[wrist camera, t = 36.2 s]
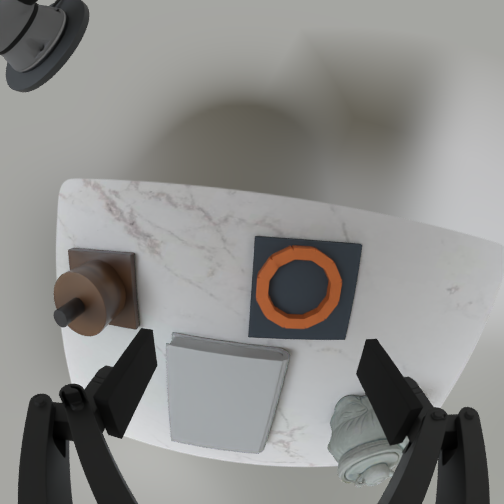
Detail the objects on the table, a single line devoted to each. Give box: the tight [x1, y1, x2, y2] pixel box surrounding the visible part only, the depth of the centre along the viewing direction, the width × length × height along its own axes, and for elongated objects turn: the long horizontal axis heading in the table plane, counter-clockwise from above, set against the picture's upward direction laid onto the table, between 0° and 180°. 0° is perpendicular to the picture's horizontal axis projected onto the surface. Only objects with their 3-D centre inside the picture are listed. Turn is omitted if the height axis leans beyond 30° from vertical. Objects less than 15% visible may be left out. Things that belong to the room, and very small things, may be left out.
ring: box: [256, 245, 342, 329], centre depth 38 cm, size 12×12×2 cm
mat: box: [248, 236, 362, 340], centre depth 39 cm, size 15×15×1 cm
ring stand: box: [54, 248, 140, 336], centre depth 34 cm, size 12×12×12 cm
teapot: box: [328, 395, 409, 487], centre depth 35 cm, size 16×15×19 cm
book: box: [166, 332, 290, 454], centre depth 42 cm, size 18×4×24 cm
